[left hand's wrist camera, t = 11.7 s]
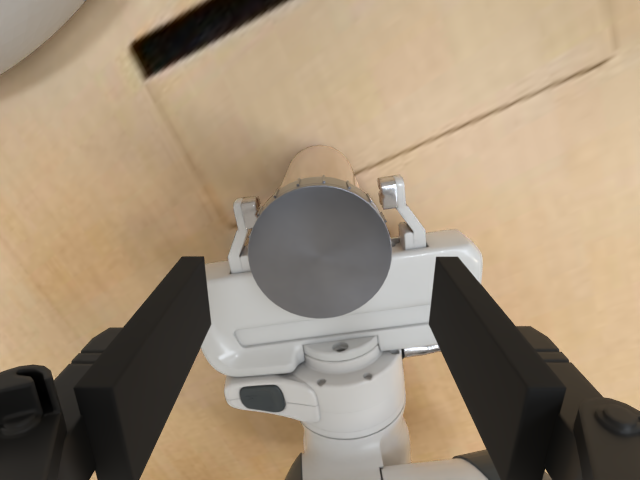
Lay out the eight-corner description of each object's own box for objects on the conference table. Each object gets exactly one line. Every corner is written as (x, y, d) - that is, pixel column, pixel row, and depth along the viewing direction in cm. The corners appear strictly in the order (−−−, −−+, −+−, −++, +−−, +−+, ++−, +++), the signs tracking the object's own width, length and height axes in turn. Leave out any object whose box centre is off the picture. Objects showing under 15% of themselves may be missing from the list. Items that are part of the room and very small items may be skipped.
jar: (356, 147, 31) (387, 196, 17) (350, 213, 33) (374, 308, 19) (287, 143, 31) (258, 189, 17) (285, 209, 33) (259, 303, 19)
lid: (394, 178, 18) (401, 187, 16) (379, 304, 20) (384, 323, 18) (252, 170, 18) (245, 179, 16) (253, 298, 20) (247, 317, 18)
